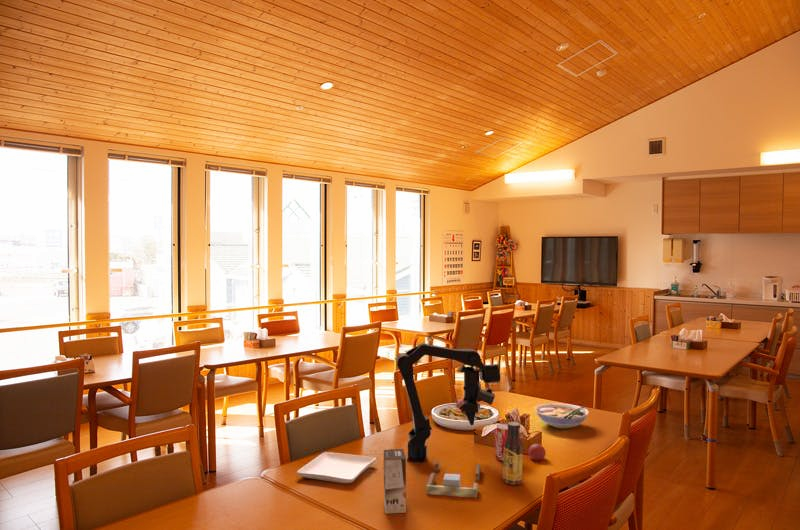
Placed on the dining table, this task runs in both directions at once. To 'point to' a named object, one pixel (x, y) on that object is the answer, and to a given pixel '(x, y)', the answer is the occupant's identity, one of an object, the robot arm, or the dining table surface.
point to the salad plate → (336, 467)
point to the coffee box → (394, 481)
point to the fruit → (537, 452)
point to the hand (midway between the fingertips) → (471, 424)
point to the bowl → (462, 416)
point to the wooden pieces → (450, 489)
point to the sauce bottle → (513, 456)
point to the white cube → (452, 480)
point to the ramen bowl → (561, 414)
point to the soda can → (500, 440)
